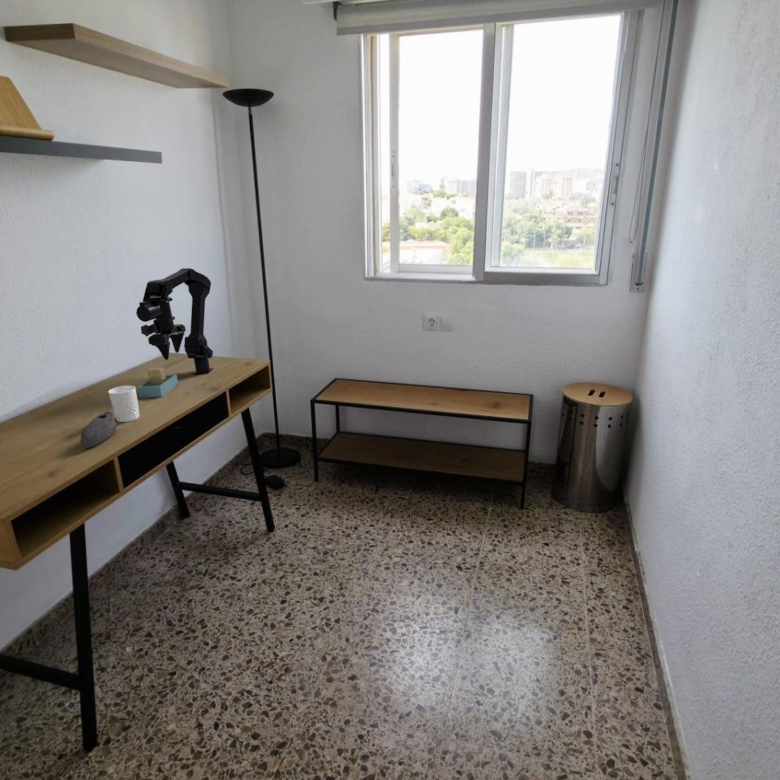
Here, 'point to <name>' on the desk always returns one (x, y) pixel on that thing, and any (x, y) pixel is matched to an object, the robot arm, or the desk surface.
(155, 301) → the robot arm
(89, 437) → the perforated stone tool
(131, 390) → the white cup
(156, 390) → the blue rectangular open bin
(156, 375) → the brass bracket
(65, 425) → the desk surface
